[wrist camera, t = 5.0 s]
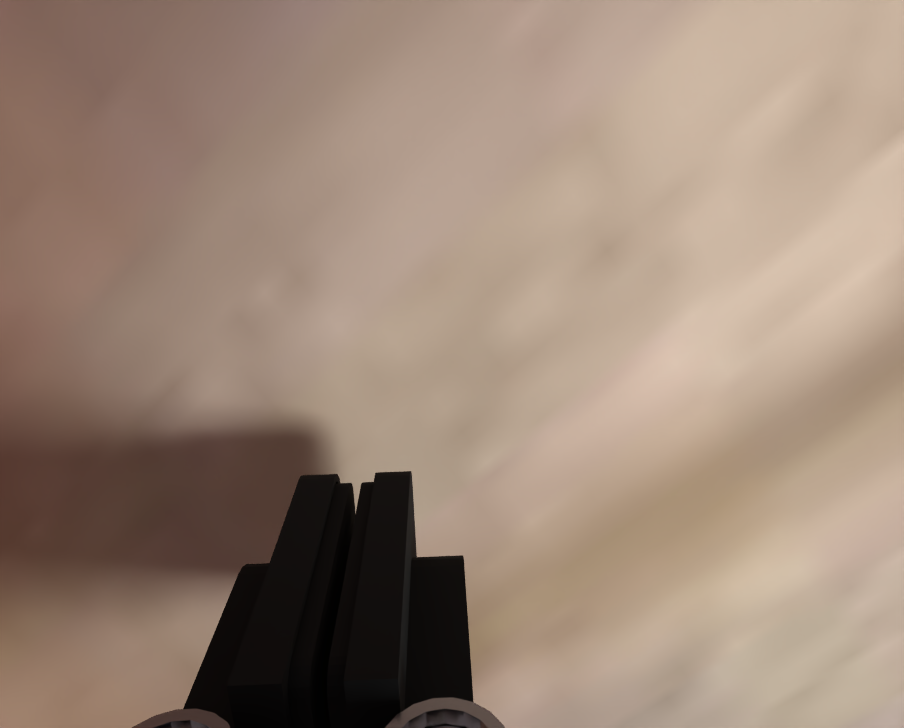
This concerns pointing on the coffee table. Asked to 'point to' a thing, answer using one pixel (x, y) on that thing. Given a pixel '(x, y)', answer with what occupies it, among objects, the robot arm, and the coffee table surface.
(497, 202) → the coffee table surface
